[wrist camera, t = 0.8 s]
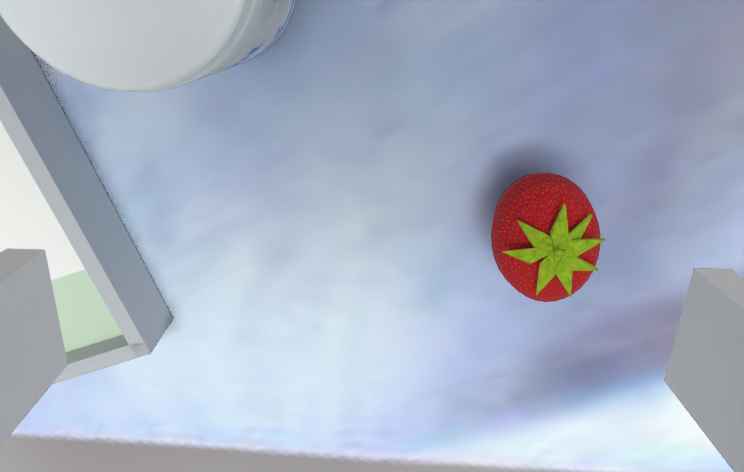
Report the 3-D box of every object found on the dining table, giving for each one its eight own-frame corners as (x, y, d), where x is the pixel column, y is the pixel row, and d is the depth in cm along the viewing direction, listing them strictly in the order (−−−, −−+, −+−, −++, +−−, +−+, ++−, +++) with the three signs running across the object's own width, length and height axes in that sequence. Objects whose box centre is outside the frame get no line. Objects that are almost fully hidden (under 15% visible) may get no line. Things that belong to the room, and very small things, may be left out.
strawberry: (484, 268, 39) (518, 348, 30) (468, 161, 37) (501, 212, 27) (571, 251, 39) (634, 328, 30) (562, 142, 36) (628, 188, 27)
